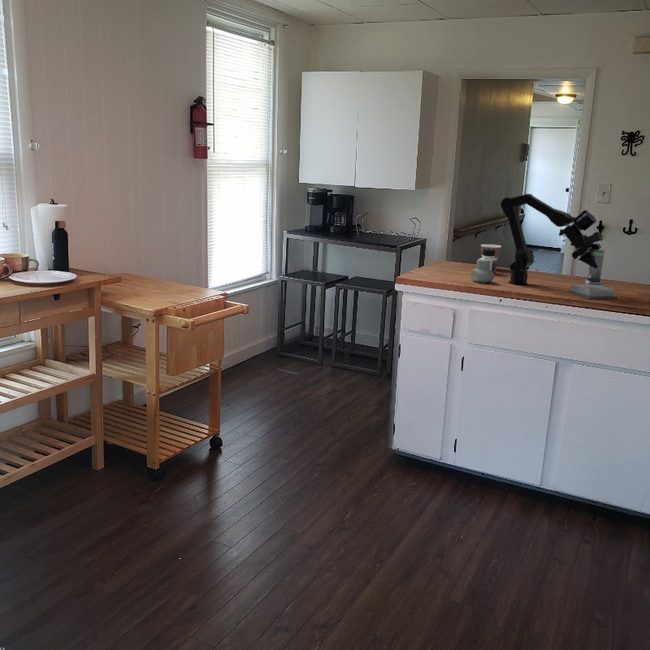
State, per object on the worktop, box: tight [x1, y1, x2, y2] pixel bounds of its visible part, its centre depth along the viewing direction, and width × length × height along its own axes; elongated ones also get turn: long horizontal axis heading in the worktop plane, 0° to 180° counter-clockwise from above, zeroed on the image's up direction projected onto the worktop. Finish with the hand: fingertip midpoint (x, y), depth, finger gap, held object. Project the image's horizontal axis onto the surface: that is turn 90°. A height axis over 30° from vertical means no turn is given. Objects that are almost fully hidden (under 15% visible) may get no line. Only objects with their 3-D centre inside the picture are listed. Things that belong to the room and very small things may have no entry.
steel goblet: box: [584, 249, 605, 286], centre depth 280 cm, size 7×7×14 cm
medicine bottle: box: [479, 248, 498, 274], centre depth 329 cm, size 7×7×12 cm
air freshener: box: [470, 258, 496, 284], centre depth 304 cm, size 11×8×10 cm
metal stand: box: [567, 284, 618, 300], centre depth 283 cm, size 14×14×4 cm
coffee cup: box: [480, 243, 502, 264], centre depth 342 cm, size 10×10×12 cm
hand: (599, 267), depth 280 cm, fingers closed on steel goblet, 5 cm apart
